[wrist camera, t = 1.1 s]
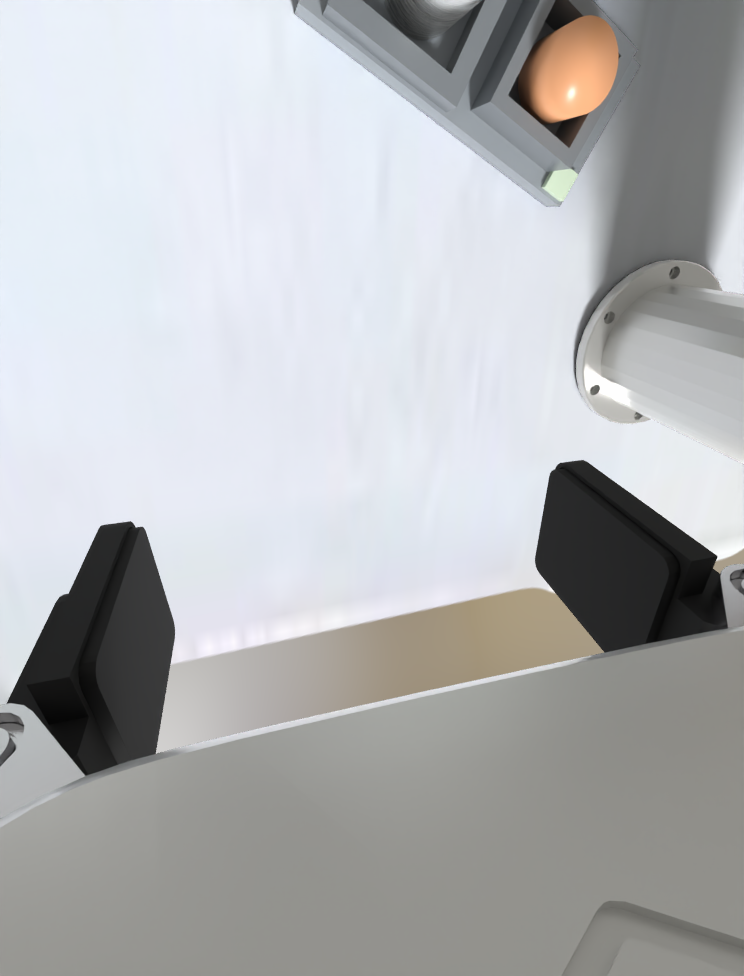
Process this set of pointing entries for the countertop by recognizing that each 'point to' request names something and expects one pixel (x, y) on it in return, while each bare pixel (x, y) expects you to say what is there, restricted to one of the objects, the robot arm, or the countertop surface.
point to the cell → (427, 15)
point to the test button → (569, 71)
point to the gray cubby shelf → (481, 80)
